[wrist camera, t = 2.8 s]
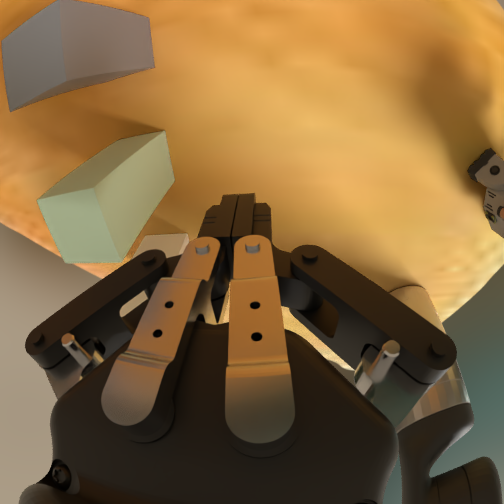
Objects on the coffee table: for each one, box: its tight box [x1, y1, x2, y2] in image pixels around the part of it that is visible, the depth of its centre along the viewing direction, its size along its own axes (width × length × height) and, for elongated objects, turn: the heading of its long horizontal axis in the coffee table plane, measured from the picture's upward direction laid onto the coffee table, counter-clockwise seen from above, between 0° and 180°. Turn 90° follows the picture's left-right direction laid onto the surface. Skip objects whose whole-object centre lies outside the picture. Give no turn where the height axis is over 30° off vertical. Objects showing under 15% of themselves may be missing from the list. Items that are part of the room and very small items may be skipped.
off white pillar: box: [120, 233, 189, 317], centre depth 26 cm, size 5×5×12 cm
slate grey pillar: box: [2, 0, 155, 112], centre depth 12 cm, size 5×5×12 cm
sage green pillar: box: [37, 131, 175, 263], centre depth 19 cm, size 5×5×12 cm
